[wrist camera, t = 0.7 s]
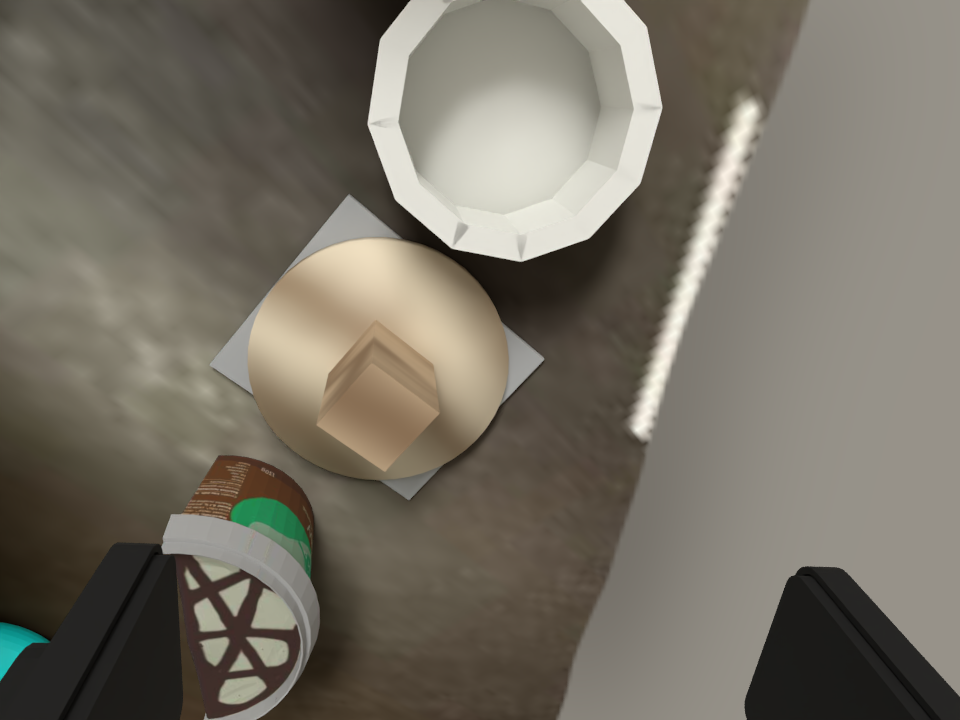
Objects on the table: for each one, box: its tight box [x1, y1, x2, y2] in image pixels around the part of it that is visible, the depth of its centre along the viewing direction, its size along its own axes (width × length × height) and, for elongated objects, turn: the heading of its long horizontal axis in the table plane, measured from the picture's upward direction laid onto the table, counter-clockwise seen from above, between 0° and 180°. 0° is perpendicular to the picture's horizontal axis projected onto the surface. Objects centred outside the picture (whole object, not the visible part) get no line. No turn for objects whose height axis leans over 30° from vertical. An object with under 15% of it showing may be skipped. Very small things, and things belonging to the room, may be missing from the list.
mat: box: [210, 194, 544, 500], centre depth 37 cm, size 12×14×1 cm
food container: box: [161, 456, 320, 720], centre depth 36 cm, size 12×6×10 cm, turn 0°
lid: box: [248, 237, 509, 480], centre depth 34 cm, size 14×14×7 cm
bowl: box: [368, 0, 662, 262], centre depth 31 cm, size 12×12×6 cm
